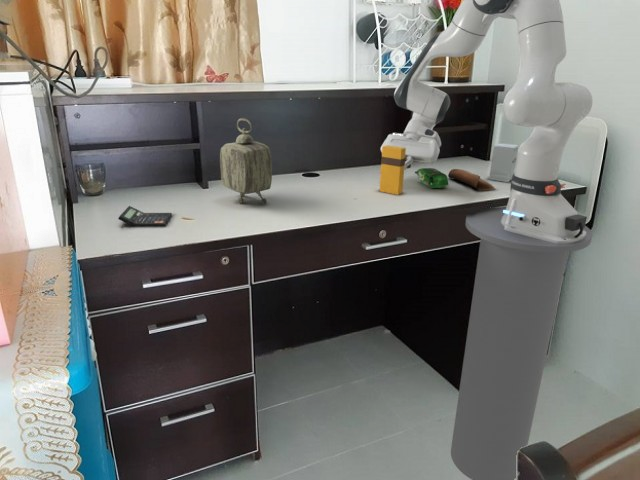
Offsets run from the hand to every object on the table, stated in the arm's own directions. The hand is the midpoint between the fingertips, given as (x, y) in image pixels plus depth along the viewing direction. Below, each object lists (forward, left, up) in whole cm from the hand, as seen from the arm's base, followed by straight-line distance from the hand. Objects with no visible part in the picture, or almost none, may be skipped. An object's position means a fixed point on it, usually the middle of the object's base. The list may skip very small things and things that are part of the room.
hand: (400, 168), depth 170 cm
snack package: (-2, -13, -7) cm, 15 cm away
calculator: (+11, +83, -7) cm, 84 cm away
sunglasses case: (-9, -26, -7) cm, 29 cm away
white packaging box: (-10, -42, -7) cm, 44 cm away
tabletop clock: (+13, +52, -7) cm, 54 cm away
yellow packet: (-2, +6, -7) cm, 9 cm away
